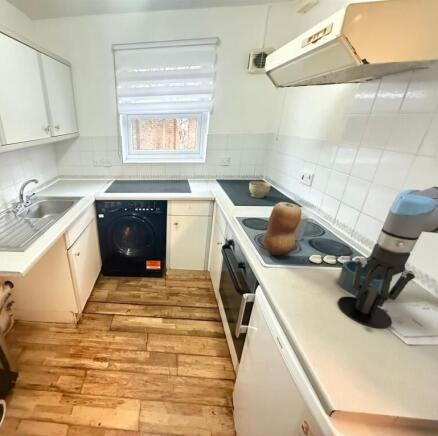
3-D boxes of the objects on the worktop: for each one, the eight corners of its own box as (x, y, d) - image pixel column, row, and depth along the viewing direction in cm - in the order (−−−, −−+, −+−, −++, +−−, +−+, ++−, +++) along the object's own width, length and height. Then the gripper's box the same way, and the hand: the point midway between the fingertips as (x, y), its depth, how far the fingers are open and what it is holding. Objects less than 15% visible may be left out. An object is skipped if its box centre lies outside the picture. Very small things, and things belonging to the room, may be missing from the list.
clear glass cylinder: (292, 241, 125) (298, 219, 120) (278, 233, 133) (283, 213, 129) (306, 238, 127) (313, 217, 123) (292, 231, 136) (297, 211, 131)
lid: (386, 309, 80) (397, 286, 76) (395, 337, 70) (409, 312, 66) (336, 294, 87) (344, 272, 84) (337, 317, 77) (347, 293, 73)
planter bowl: (270, 200, 187) (273, 186, 183) (248, 198, 190) (251, 185, 186) (266, 194, 201) (268, 181, 197) (246, 193, 205) (248, 180, 200)
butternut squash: (294, 262, 106) (309, 210, 96) (262, 258, 110) (273, 207, 100) (286, 247, 119) (299, 200, 109) (258, 244, 122) (267, 198, 112)
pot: (375, 282, 94) (384, 264, 90) (384, 310, 80) (394, 290, 77) (336, 271, 100) (342, 254, 97) (338, 295, 86) (345, 276, 83)
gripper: (359, 245, 70) (334, 306, 79) (437, 262, 62) (400, 328, 71) (356, 235, 76) (334, 293, 85) (428, 249, 67) (394, 312, 77)
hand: (364, 309), depth 78 cm, fingers closed on lid, 3 cm apart
